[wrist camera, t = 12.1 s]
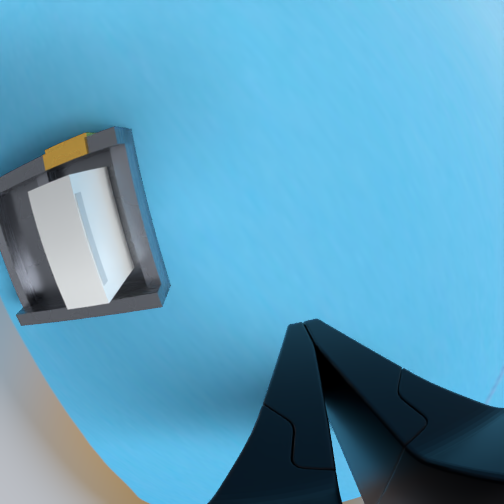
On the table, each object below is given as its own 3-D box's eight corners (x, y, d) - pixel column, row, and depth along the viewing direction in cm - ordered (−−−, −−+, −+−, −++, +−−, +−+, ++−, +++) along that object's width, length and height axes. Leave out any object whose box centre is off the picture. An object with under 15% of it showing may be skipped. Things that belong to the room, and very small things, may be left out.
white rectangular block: (107, 166, 17) (69, 174, 12) (135, 267, 19) (109, 303, 14) (69, 179, 17) (27, 192, 12) (97, 274, 19) (67, 309, 14)
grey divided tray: (130, 124, 16) (112, 121, 14) (170, 285, 20) (161, 308, 17) (-4, 182, 16) (-28, 189, 13) (38, 307, 20) (20, 326, 17)
